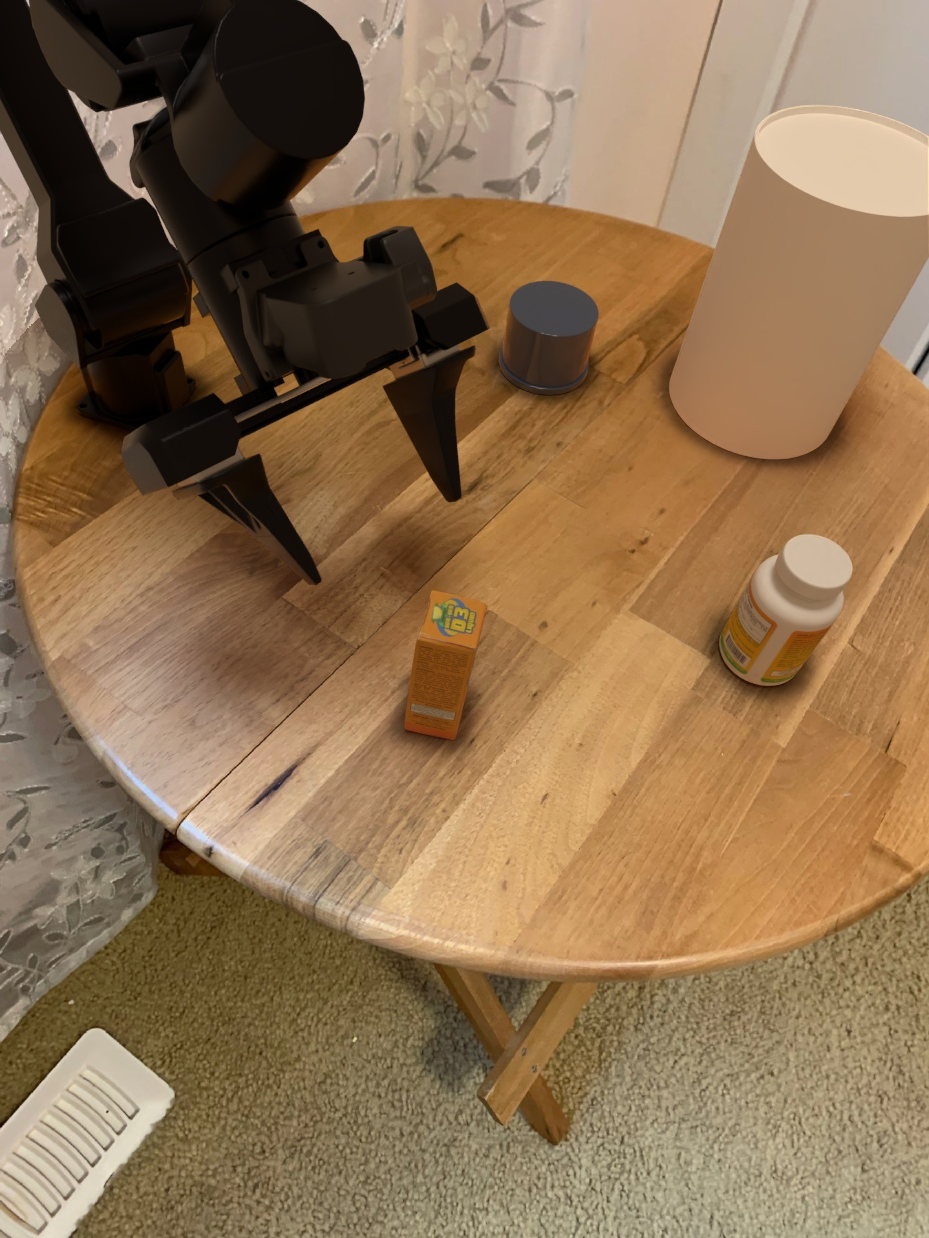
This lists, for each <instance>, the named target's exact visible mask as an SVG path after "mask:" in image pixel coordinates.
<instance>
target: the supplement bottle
mask: <svg viewBox="0 0 929 1238" xmlns="http://www.w3.org/2000/svg"><path fill="white" fill-rule="evenodd" d="M853 569H854V568H853V563H852V560H851V557H850V556H849V554H848V553H847V551H846V550H845V549H844V548H843V547H841V546H840V545H839V544H838V543H837V542H835V541H834V540H832V539H830V538H827V537H825V536H822V535H819V534H812V533H803V534H799V535H796V536H794V537H792V538H790V539H789V540H788V541H786V543H785V544H784V545H783V547H782V549H781V551H780V552H778V554H775V555H771V556H770V557H768V558H766V559H765V560H763V561H762V562H761V564H760V565H758V567H757V568H756V570H755V571H754V573H753V575H752V576H751V579H750V580H749V582H748V584H747V586H746V587H745V589H744V590H743V593H742V595H741V596H740V598H739V600H738V602H737V604H736V605H735V607H734V609H733V610H732V612H731V614H730V616H729V617H728V619H727V620H726V623H725V625H724V626H723V628H722V631H721V633H720V636H719V640H718V645H719V652H720V655H721V657H722V659H723V661H724V663H725V665H726V666H727V667H728V668H729V670H730V671H732V673H734V675H736V676H738V677H739V678H741V679H742V680H744V681H746V682H748V683H751V684H754V685H758V686H764V687H765V686H766V687H771V686H779V685H782V684H785V683H787V682H788V681H790V680H791V679H793V678H794V677H795V675H797V674H798V672H799V671H800V670H801V669H802V667H803V666H804V664H805V663H806V662H807V660H808V659H809V657H810V656H811V655H812V653H813V652H814V651H815V649H816V648H817V647H818V645H819V644H820V643H821V641H822V640H823V639H824V637H825V636H826V635H827V633H828V632H829V630H830V629H831V628H832V626H833V625H834V623H835V622H836V621H837V619H838V618H839V616H840V615H841V613H842V611H843V608H844V602H845V597H844V596H845V595H844V589H845V587H846V586H847V584H848V583H849V581H850V580H851V578H852V575H853Z"/></svg>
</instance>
